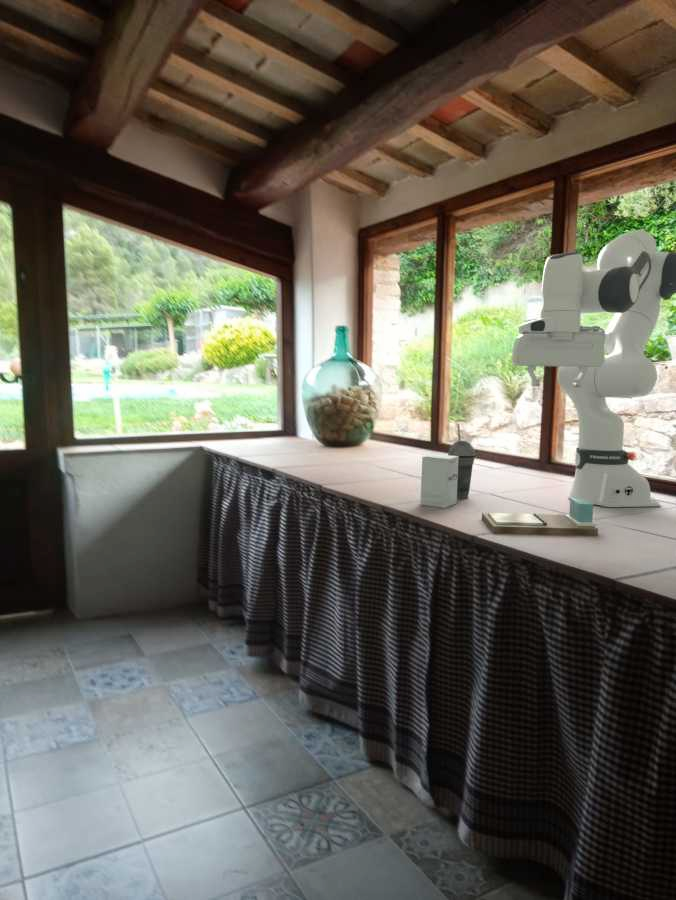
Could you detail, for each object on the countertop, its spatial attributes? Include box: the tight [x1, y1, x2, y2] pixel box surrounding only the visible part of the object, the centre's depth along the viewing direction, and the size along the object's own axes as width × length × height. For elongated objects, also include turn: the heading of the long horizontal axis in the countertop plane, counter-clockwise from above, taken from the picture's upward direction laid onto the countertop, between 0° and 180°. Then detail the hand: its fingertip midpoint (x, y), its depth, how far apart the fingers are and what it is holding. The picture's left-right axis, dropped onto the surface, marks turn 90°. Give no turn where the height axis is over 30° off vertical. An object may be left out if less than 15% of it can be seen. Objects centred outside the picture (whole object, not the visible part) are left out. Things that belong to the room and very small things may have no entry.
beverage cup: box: [447, 423, 476, 500], centre depth 175 cm, size 7×7×20 cm
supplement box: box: [419, 453, 459, 509], centre depth 165 cm, size 7×7×13 cm
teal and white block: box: [564, 498, 598, 527], centre depth 143 cm, size 4×9×4 cm, turn 178°
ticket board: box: [481, 512, 599, 537], centre depth 143 cm, size 22×13×2 cm, turn 88°
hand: (556, 386), depth 148 cm, fingers open, 8 cm apart
